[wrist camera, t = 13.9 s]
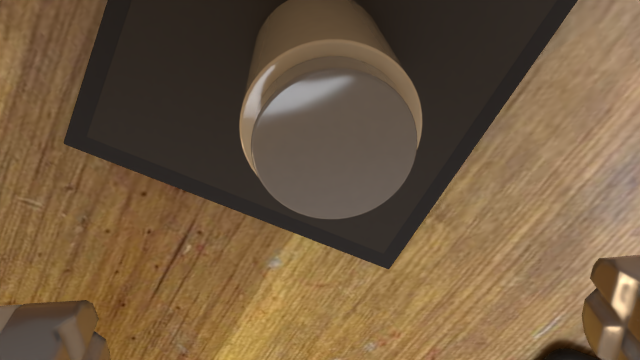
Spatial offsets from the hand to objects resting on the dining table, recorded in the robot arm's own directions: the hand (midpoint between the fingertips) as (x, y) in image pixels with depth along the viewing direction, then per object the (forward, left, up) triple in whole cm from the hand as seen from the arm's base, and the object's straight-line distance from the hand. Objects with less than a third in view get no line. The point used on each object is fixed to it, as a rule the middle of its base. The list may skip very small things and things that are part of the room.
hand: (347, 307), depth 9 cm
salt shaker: (0, 0, -14) cm, 14 cm away
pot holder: (0, 0, -15) cm, 15 cm away
